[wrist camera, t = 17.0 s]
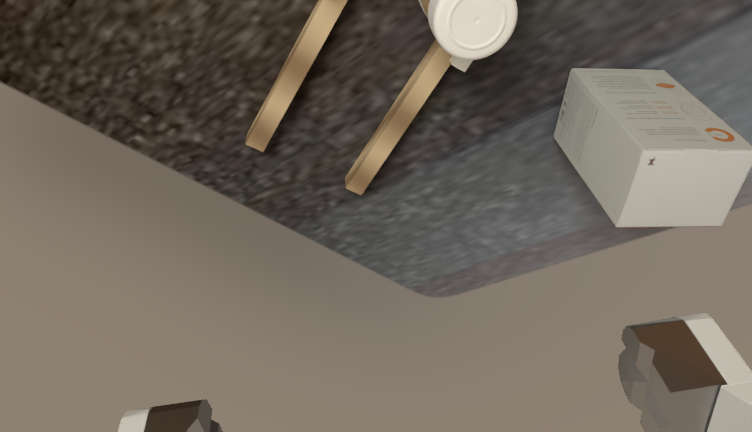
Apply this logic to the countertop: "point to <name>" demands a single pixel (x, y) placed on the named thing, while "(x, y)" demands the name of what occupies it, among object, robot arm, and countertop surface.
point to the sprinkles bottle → (471, 25)
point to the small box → (650, 148)
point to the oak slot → (391, 125)
